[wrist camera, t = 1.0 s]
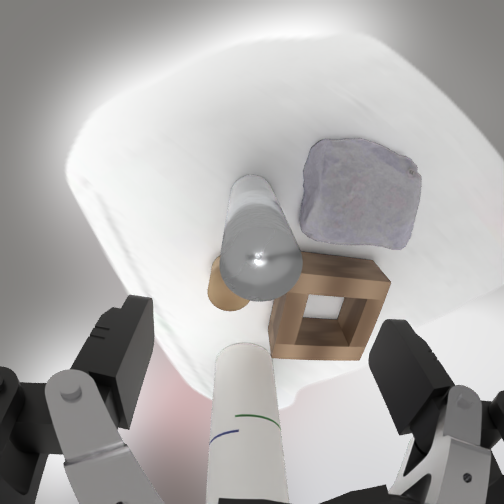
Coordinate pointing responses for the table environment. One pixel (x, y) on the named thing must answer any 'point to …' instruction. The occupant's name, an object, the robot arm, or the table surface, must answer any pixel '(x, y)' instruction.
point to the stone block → (359, 194)
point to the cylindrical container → (245, 428)
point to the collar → (328, 330)
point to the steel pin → (258, 243)
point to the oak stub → (223, 291)
